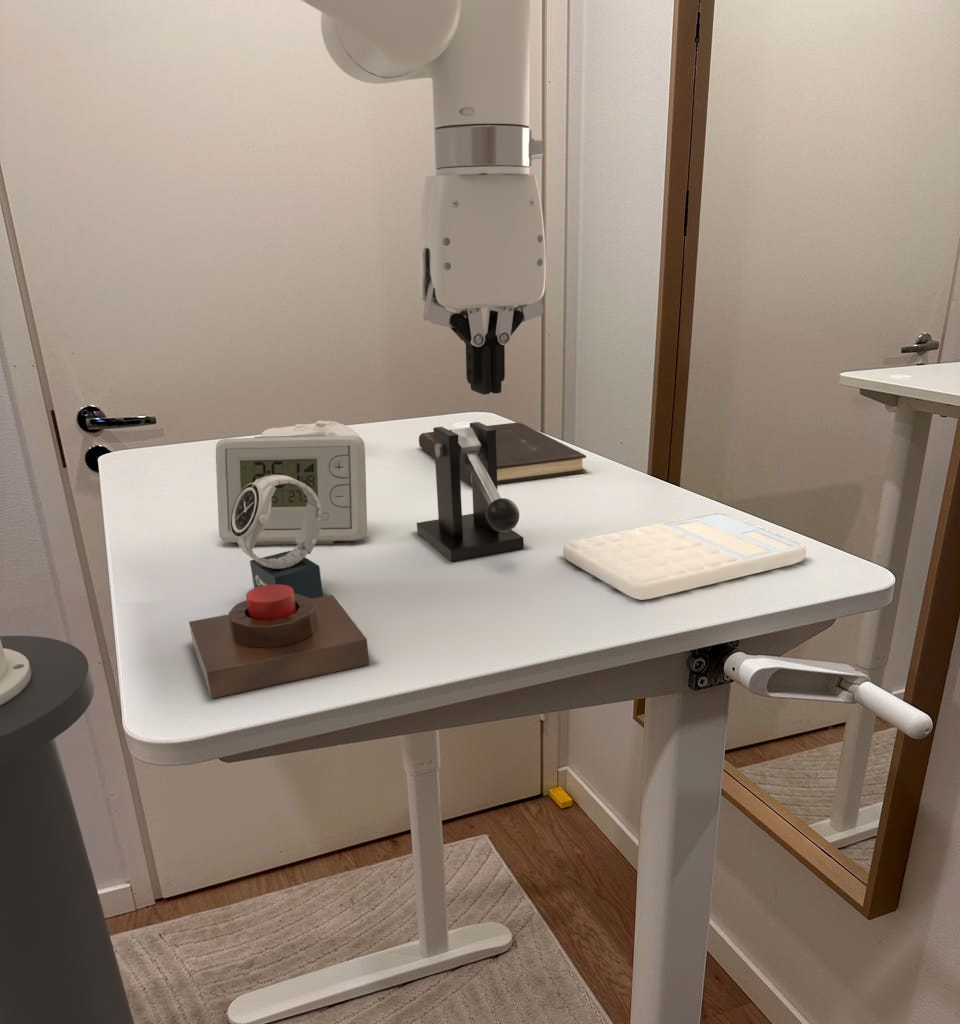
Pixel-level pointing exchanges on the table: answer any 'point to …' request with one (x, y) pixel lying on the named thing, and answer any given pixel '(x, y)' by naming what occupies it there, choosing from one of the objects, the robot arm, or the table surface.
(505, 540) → the bracket
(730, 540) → the calculator
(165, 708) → the table surface
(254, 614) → the button
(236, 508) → the watch
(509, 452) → the hardcover book
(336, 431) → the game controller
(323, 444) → the digital clock
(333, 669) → the button block
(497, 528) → the lever
